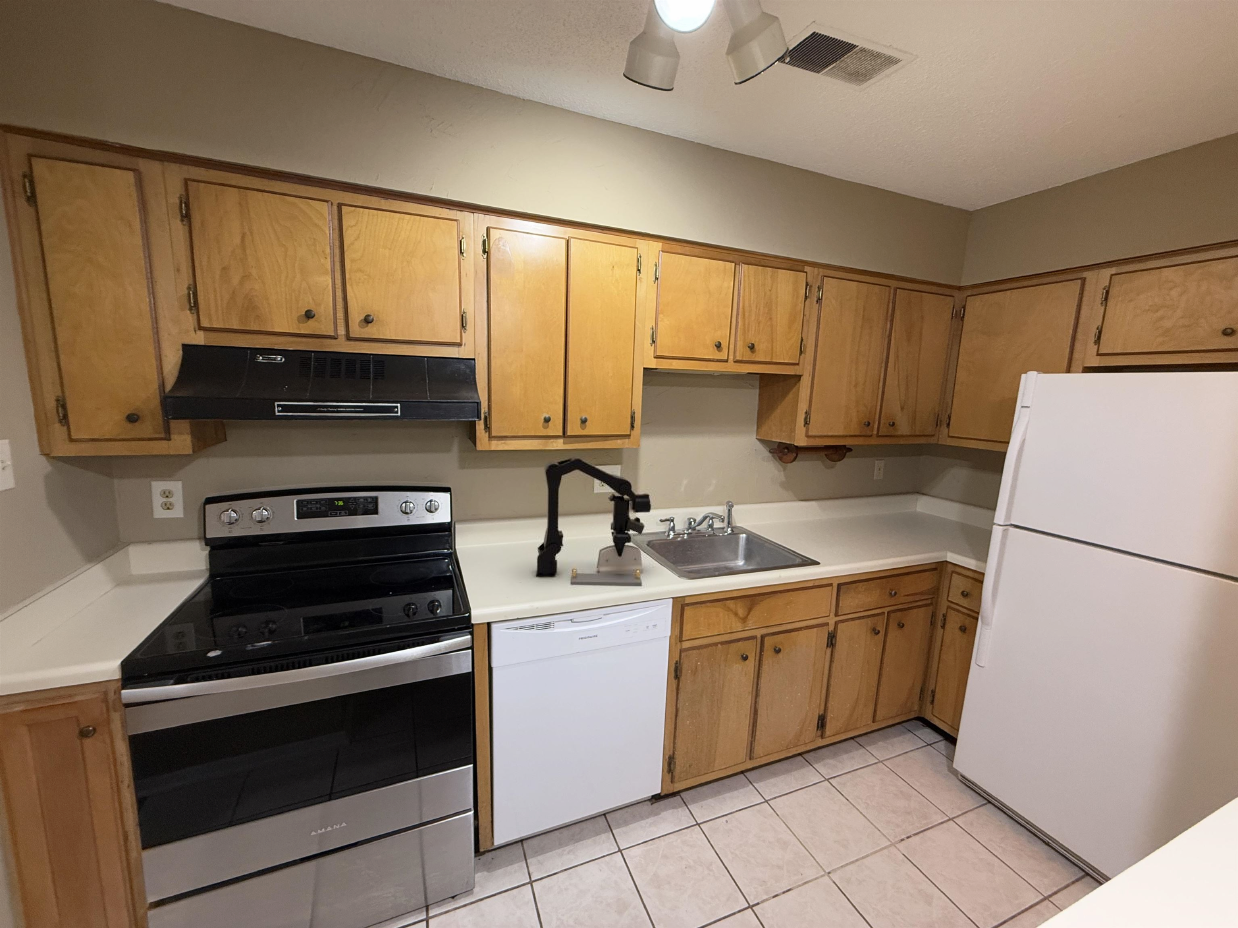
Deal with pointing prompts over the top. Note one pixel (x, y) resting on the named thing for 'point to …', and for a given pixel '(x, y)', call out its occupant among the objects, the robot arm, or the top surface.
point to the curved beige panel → (619, 560)
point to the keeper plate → (606, 579)
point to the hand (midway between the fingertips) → (619, 554)
